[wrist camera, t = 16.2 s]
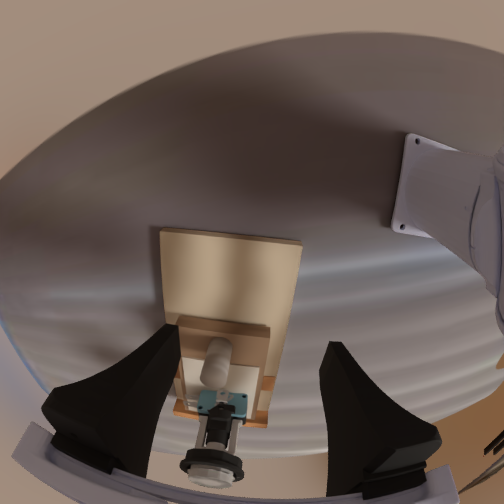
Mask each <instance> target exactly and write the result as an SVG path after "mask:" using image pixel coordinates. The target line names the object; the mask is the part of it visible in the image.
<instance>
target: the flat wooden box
mask: <svg viewBox="0 0 504 504" xmlns="http://www.w3.org/2000/svg"><path fill="white" fill-rule="evenodd" d="M302 247H303V245H302V242H301V241H293V240H284V239H275V238H266V237H257V236H247V235H238V234H228V233H218V232H208V231H198V230H187V229H177V228H166V227H164V228H163V229H162V230H161V231H160V254H161V272H162V286H163V298H164V309H165V319H166V323H168V324H173V325H175V323H176V321H177V319H178V317H179V315H180V316H187V317H193V318H200V319H207V320H214V321H221V322H229V323H238V324H246V325H255V326H265V327H270V343H269V348H268V354H267V360H266V365H265V371H264V376H263V381H262V386H261V392H260V397H259V402H258V407H257V412H256V417H255V420H250V419H246V424H245V425H242V426H246V427H257V428H267V423H268V409H269V405H270V401H271V397H272V393H273V389H274V385H275V380H276V376H277V372H278V368H279V363H280V359H281V355H282V350H283V346H284V341H285V336H286V332H287V327H288V322H289V317H290V312H291V307H292V302H293V297H294V292H295V287H296V281H297V276H298V270H299V265H300V259H301V253H302ZM174 384H175V390H176V396H177V400H176V403H175V406H174V409H173V413H174V415H176V416H181V417H186V418H191V419H196V420H199V415H198V412H193V411H188V410H185V405H184V403H183V401H184V399H183V392H182V386H181V379H180V371H179V366H178V369H177V373H176V375H175V378H174Z"/></svg>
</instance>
